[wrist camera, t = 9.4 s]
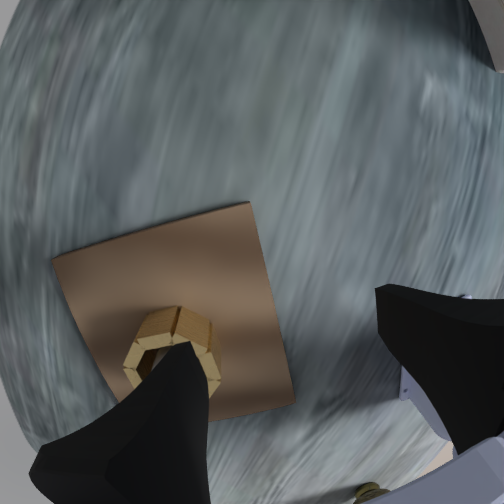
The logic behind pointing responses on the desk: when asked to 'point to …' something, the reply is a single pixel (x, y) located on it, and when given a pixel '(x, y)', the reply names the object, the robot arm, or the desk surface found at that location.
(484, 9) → the miniature monument
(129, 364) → the brass collar
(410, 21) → the desk surface
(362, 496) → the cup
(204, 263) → the post stand
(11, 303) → the desk surface
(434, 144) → the desk surface
